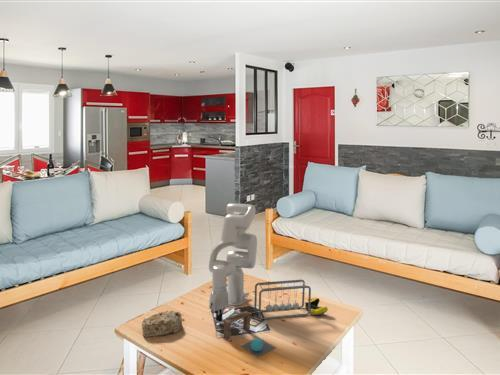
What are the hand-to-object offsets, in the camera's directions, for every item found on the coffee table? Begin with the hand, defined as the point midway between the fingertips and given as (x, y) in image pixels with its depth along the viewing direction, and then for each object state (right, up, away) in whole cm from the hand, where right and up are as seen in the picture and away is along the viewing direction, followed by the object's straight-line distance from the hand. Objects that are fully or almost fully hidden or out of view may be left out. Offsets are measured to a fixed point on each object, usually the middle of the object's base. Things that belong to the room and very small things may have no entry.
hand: (219, 320), depth 221 cm
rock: (-29, -3, -7) cm, 30 cm away
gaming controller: (+54, 0, +16) cm, 57 cm away
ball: (+20, -3, -26) cm, 33 cm away
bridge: (+10, -3, -11) cm, 15 cm away
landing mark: (+21, -6, -22) cm, 31 cm away
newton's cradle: (+35, 0, +12) cm, 37 cm away
